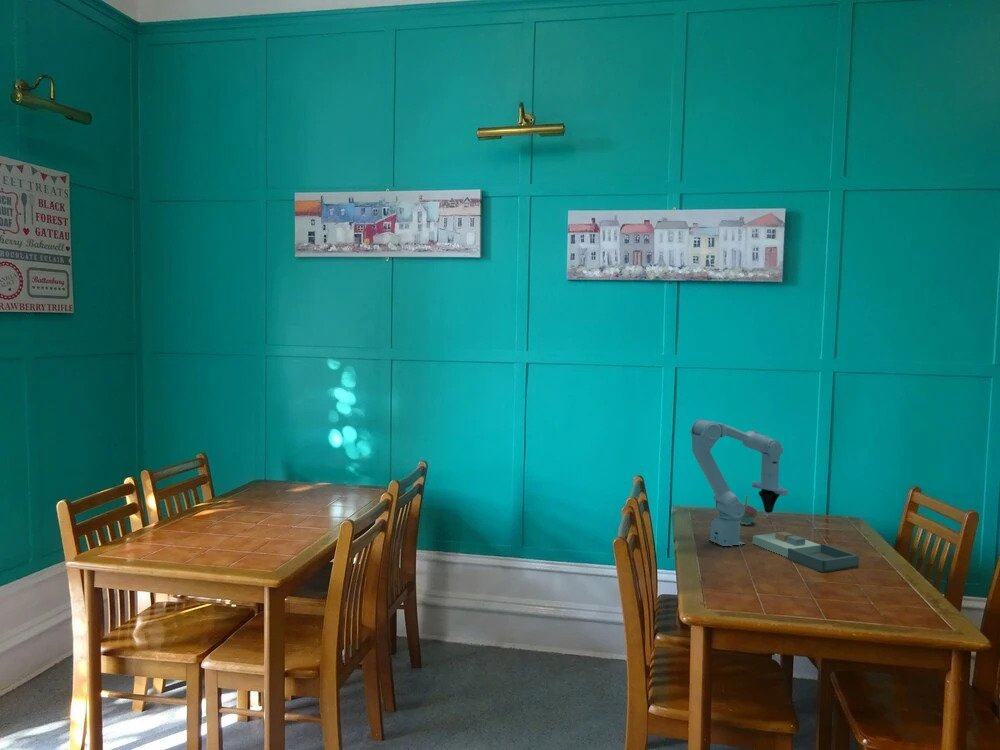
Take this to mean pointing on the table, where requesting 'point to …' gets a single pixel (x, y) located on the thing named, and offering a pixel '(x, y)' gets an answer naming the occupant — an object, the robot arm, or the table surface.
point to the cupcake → (748, 513)
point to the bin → (825, 559)
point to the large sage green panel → (784, 545)
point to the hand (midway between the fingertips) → (768, 512)
